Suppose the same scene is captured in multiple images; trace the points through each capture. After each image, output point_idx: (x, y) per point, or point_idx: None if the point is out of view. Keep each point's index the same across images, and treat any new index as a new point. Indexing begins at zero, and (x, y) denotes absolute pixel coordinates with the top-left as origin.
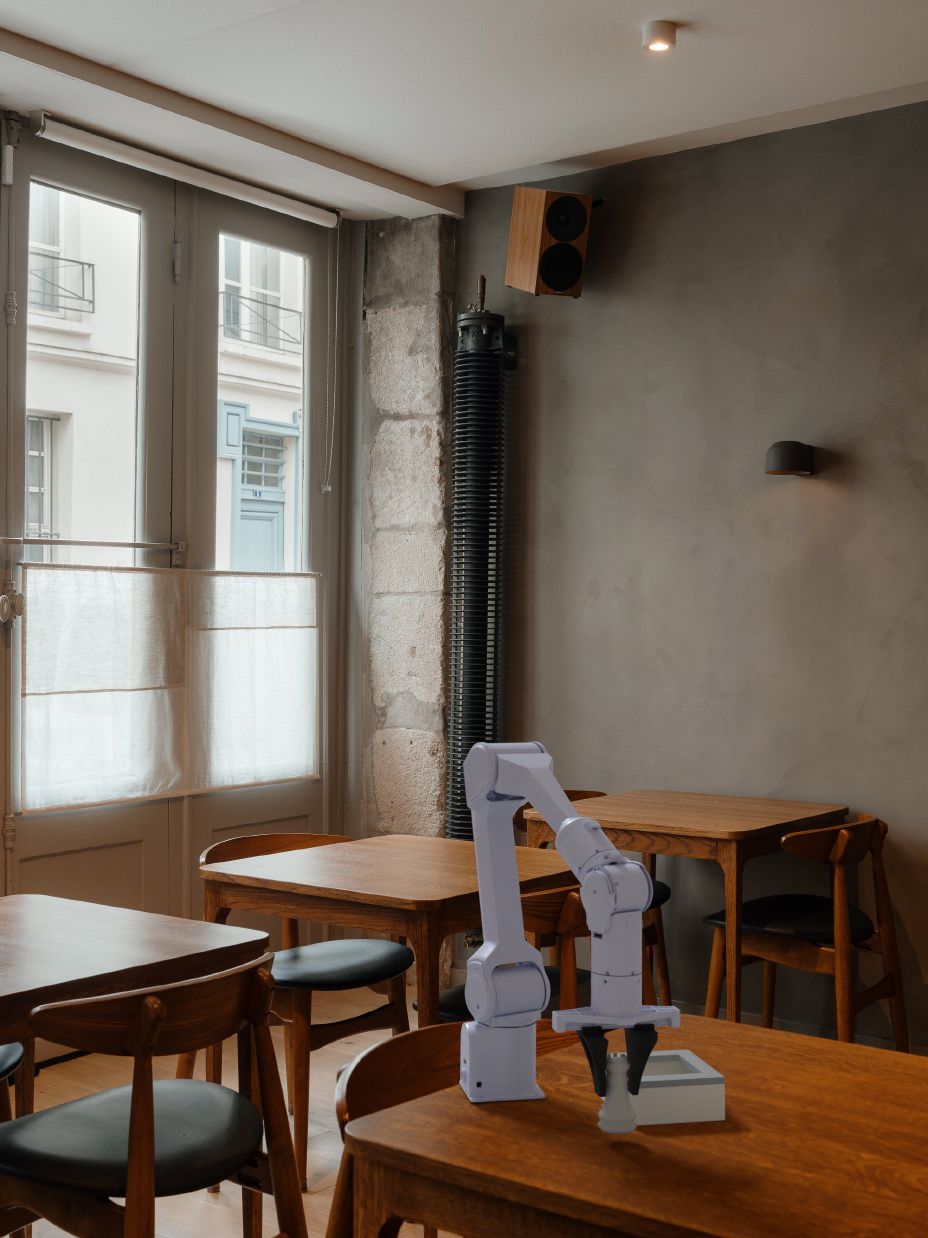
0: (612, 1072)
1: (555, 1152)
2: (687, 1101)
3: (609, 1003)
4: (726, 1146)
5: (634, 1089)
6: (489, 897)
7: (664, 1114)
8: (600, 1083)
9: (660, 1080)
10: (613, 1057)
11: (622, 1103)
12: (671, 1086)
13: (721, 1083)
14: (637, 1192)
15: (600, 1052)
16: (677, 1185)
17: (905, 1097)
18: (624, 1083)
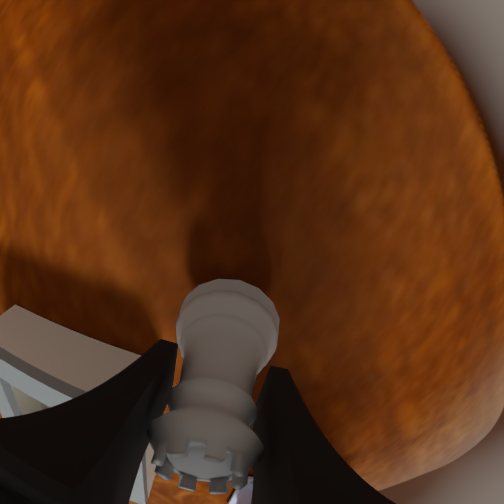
0: (240, 420)
1: (382, 307)
2: (43, 346)
3: None
4: (44, 195)
5: (168, 350)
6: None
7: (92, 350)
8: (298, 394)
9: (67, 396)
10: (205, 476)
11: (222, 332)
12: (53, 377)
13: None
14: (354, 38)
15: (330, 488)
16: (250, 30)
17: None
18: (198, 377)
